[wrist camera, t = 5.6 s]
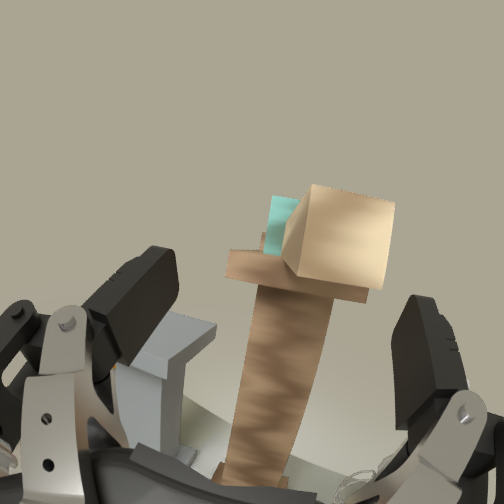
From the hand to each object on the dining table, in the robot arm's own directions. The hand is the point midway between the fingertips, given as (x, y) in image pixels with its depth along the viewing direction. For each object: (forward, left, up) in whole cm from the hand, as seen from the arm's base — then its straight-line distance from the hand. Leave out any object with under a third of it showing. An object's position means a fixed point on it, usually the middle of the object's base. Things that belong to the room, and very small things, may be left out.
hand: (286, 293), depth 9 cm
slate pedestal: (-14, +17, -31) cm, 38 cm away
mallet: (0, +11, +1) cm, 11 cm away
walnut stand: (0, +16, -31) cm, 35 cm away
